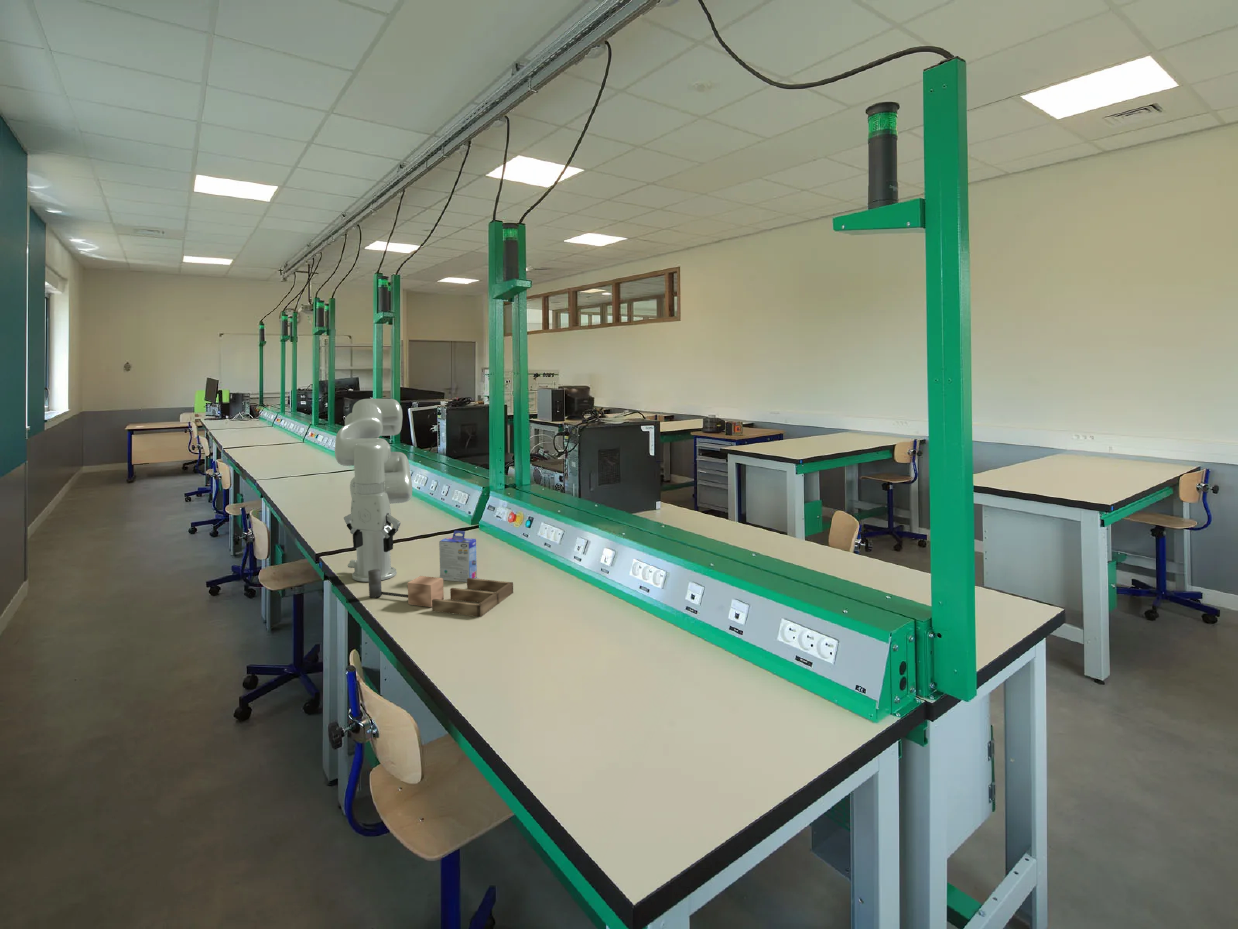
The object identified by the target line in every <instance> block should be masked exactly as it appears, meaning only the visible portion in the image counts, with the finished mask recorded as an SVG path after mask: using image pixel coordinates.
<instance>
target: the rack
mask: <svg viewBox="0 0 1238 929" xmlns="http://www.w3.org/2000/svg"><path fill="white" fill-rule="evenodd" d="M466 586H467V587H466V589H465V588H457V587H451V588H450V589H449V591H450V592H449V593H450V596H449V597H450V600H448V599H444V600H440V599H433V600H432V607H431V611H432V612H436V613H437V612H438V613H444V614H445V613H447V614H452V613H454V614H453V615H460V616H461V615H462V616H469V617H478V618H482V617H483V616H484V615H485V614H487V613H489V611H491V610H492V609H493V608H495V607H496V606H497V605H499V604H500V603H501V602H503V601H504V600H505V599H507V598H508V597H509V596H511V595H512V594H514V582H512V581H511V582H510V581H502V580H493V579H485V578H484V579H482V578H468V579H467V582H466ZM472 589H473V590H472ZM452 599H453V600H452Z"/></svg>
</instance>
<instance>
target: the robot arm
mask: <svg viewBox="0 0 1238 929" xmlns="http://www.w3.org/2000/svg"><path fill="white" fill-rule="evenodd" d="M351 411H352V412H350V413H349V414H347V415H346V417H345V419H344V426H343V427H341V428H340V429H339V430H338V432H337V433H336V436H335V441H334V456H335V460H336V462H337V463H338V464H340V465H341V466H343V467H344V466H345V467H352V466H353V469H354V471H353V472H354V477H353V478H351V480H350V483H349V491H350V496H351V502H350V513H349V514H347V515H345V516H344V517H343V520H344V522H345V524H346V527H347V528H348V530H349V532H350V535H352V543H353V549H356V559H350V561H349V563H348V564H347V568H349V569H354V571H353V572H352V573H351V574H352V575H351V576H352V579H353V580H354V581H357V582H364V583H365V582H366V583H369V579H368V571H370V570H374V569H379V570H381V581H385V580H388V579H391V578H393V577H394V576H396V575H397V573H398V572H397V569H396V568H395V567H393V566H392V560H391V551H393V549H394V536H395V535H396V533H397V532H398V531H399V528H400V527H401V521H400V520H398V519H397V518H396V517H394V516H392V512H391V504H403V503H407V502H409V501H410V500H411V498H412V496H413V482H412V476H411V475H412V473H411V468H410V462H409V459H408V456H407V455H406V454H405V453H403V452H400V451H392V450H391V445H390V443H388V441H387V440H386V439H385V438H381V437H385V436H386V437H387V436H397V435H399V434H400V433H401V430H402V426H403V417H404V416H403V409H402V405H400V403H399V401H398V400H396V399H394V398H363V399H359V400H358V401H356V402H355V403H354V404H353V406H352V410H351Z"/></svg>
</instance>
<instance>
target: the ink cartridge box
mask: <svg viewBox="0 0 1238 929" xmlns="http://www.w3.org/2000/svg"><path fill="white" fill-rule="evenodd" d="M457 534H461V535H457ZM465 534H466V530H454V531H453V534H452V537H446V538H443V539H440V541H439V544H438V545H439V546H438V547H439V549H438V550H439V578H443V581H448V582H449V581H450V582H461V583H462V582H464V583H467V579H468V578H475V579H478V578H477V577H478V572H477V571H478V570H477V568H478V566H477V539H476V538H467V537H466V538H465V536H466V535H465Z"/></svg>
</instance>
